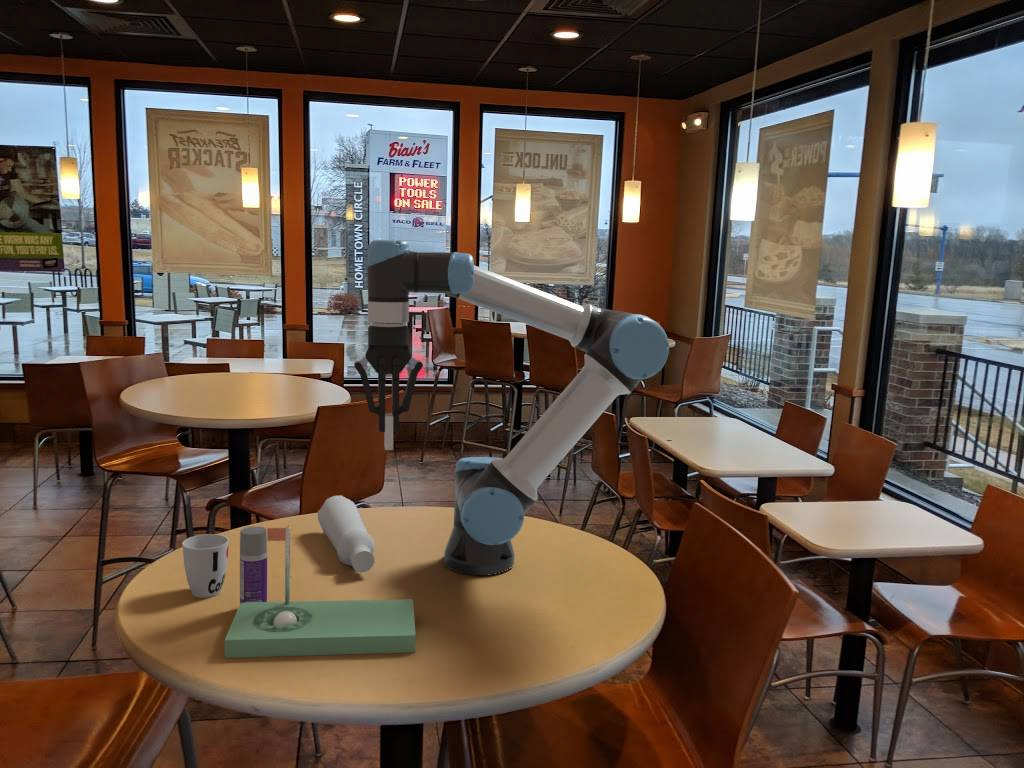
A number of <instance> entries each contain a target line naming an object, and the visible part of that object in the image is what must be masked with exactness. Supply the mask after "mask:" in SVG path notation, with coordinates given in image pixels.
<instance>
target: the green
mask: <svg viewBox="0 0 1024 768" xmlns="http://www.w3.org/2000/svg"><path fill="white" fill-rule="evenodd" d="M414 608H415V607H414V599H410V598H409V599H364V600H363V599H361V600H359V599H357V600H355V599H354V600H352V599H351V600H311V601H308V600H307V601H306V600H305V601H304V600H303V601H301V600H300V601H296V600H295V601H290V604H288V605H286V604H285V601H267V602H241V603H240V602H239V606H238V608H237V611H236V612H235V615H234V617H233V620H232V621H231V622H232V623H231V624H230V627H229V628H228V632H227V634H226V636H225V639H224V658H225V659H227V658H228V659H232V658H235V659H237V658H264V657H265V658H268V657H299V656H301V657H302V656H303V657H304V656H305V657H306V656H331V655H333V656H337V655H365V654H366V655H368V654H370V655H371V654H398V653H399V654H402V653H403V654H404V653H405V654H407V653H416V638H417V637H416V625H415V624H416V622H415V621H416V620H415V609H414ZM283 611H289V612H292V613H293V614H294V615H295V616H296V618H297V621H298V622H296V623H295V624H293V625H289V626H285V627H275V626H273V621H274V618H275V617H276V616H277V615H278V614H279V613H280V612H283Z"/></svg>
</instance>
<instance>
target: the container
mask: <svg viewBox="0 0 1024 768" xmlns="http://www.w3.org/2000/svg"><path fill="white" fill-rule="evenodd" d="M239 533H240V534H239V535H240V536H239V538H240V539H239V604H240V603H241V602H268V541H267V528H266V527H264V526H259V525H258V526H257V525H256V526H247V527H244V528H242V529H240V530H239Z"/></svg>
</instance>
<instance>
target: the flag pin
mask: <svg viewBox="0 0 1024 768" xmlns="http://www.w3.org/2000/svg"><path fill="white" fill-rule="evenodd" d="M266 530H267V542H272V541H273V542H285V543H284V544H285V547H284V550H285V551H284V552H285V553H284V556H285V557H284V559H285V560H284V561H285V562H284V563H285V564H284V602H285V604H286V605H288V604H290V602H291V600H290V599H291V598H290V597H291V593H290V592H291V526H290V525H287V526H285V527H267V528H266Z"/></svg>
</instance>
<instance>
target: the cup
mask: <svg viewBox="0 0 1024 768" xmlns="http://www.w3.org/2000/svg"><path fill="white" fill-rule="evenodd" d="M229 543H230V539H229V538H228V537H227V536H226V535H223V534H212V533H211V534H210V533H207V534H206V533H205V534H198V535H194V536H191V537H188V538H186V539H184V540H183V541H182V544H181V545H182V555H183V566H184V571H185V576H186V581H187V584H188V587H189V589H190V592H191V594H192V595H191V596H193V597H196V598H200V599H201V598H204V599H205V598H211V597H214V596H217V595H218V594H220V593H221V591H222V588H223V586H224V582H225V579H226V573H227V567H228V561H229V560H228V559H229V547H230V546H229Z"/></svg>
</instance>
